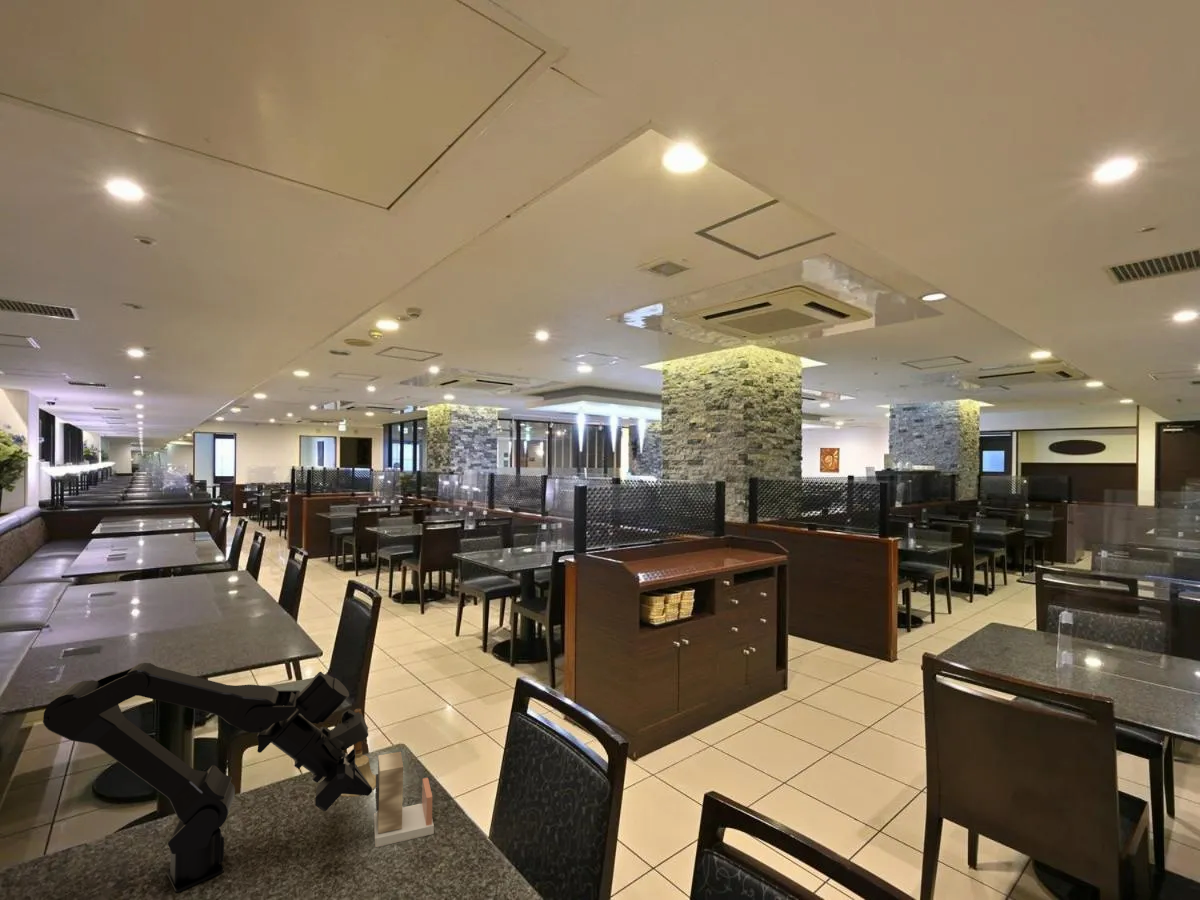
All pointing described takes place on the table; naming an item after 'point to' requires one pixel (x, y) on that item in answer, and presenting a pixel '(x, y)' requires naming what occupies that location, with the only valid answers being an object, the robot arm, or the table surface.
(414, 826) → the base
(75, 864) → the table surface
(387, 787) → the tan tall block
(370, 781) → the hand bell
